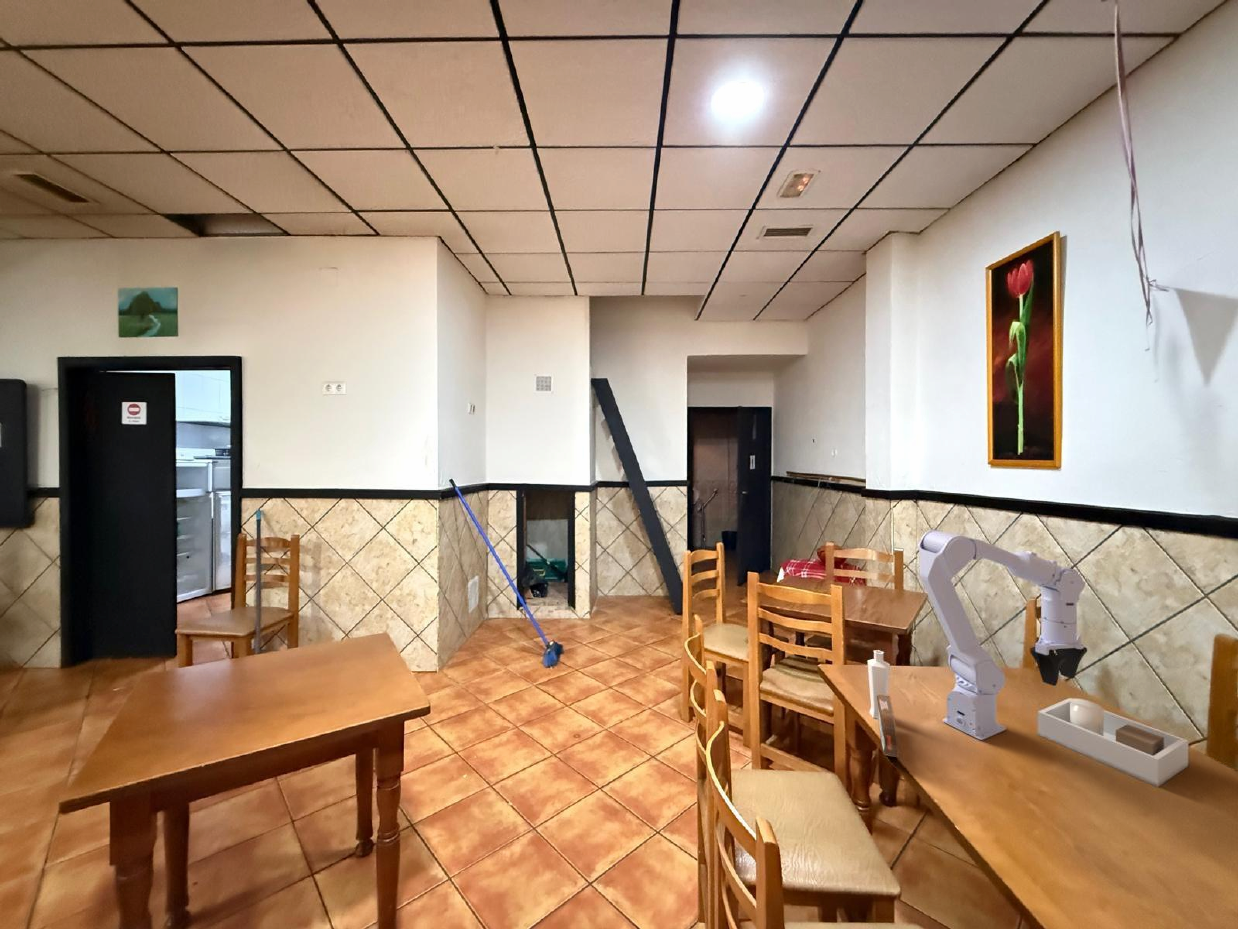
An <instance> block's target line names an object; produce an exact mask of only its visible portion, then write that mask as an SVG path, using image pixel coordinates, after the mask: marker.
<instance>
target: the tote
mask: <svg viewBox="0 0 1238 929" xmlns="http://www.w3.org/2000/svg"><path fill="white" fill-rule="evenodd" d="M1071 699H1073V698H1072V697H1068V698H1067V699H1064V700H1062V701H1059V702H1057V703H1055V704H1053V705H1050V706H1047V707H1046V708H1043V709H1041V710H1038V711H1037V735H1038V736H1040V737H1042V738H1044V739H1047V740H1050V741H1052V742H1054V743H1056V744H1058V745H1061V746H1063V747H1065V748H1068V749H1070V750H1073V751H1075V752H1077V753H1079V754H1080V755H1081V754H1082V755H1083V756H1085V757H1088V758H1090V759H1093V760H1095V761H1098V762H1099V763H1102V764H1104V765H1106V766H1108V767H1111V768H1113V769H1116V770H1118V771H1120V772H1123V773H1124V774H1127V775H1129V776H1130V777H1131V776H1132V777H1134V778H1136V779H1138V780H1140V781H1143V782H1145V783H1148V784H1150V785H1152V786H1154V787H1157V788H1159V787H1160V786H1161V785H1163V784H1165V783H1166V782H1167V781H1168V780H1170V779H1171V778H1173V777H1174V776H1176V775H1177V774H1179V773H1180V772H1181V771H1183V770H1184V769H1186V768H1188V766H1189V740H1188V739H1186V738H1182V737H1179V736H1177V735H1174V734H1171V733H1168V732H1167V731H1164V730H1160V729H1157V728H1156V727H1152V726H1149V725H1148V724H1143V723H1141V722H1139V721H1136V720H1132V719H1130V718H1127V717H1124V716H1121V715H1119V714H1116V713H1113V712H1111V711H1108V710H1105V709H1104V736H1102V735H1099V734H1097V733H1094V732H1092V731H1089V730H1087V729H1084V728H1082V727H1079V726H1077V725H1074V724H1072V723H1070V700H1071ZM1127 724H1128V725H1131V726H1134V727H1136V728H1139V729H1142V730H1145V731H1147V732H1150V733H1153V734H1155V735H1158V736H1161V737H1163V738H1164V750H1162V751H1160V752H1159V753H1157V754H1156V755H1154V756H1152V755H1149V754H1147V753H1144V752H1142V751H1139V750H1137V749H1134V748H1132V747H1129V746H1127V745H1124V744H1122V743H1119V742H1117V741H1116V730H1117V729H1119V728H1121V727H1123V726H1125V725H1127Z"/></svg>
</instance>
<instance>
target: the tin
mask: <svg viewBox="0 0 1238 929" xmlns="http://www.w3.org/2000/svg"><path fill="white" fill-rule="evenodd" d="M877 702H878V709H879V712H878V719H877V720H878V726H879V728H878V729H879V734H880V735H879V736H880V742H881V749H882V752H883V755H884V756H888V757H891V758H893V757H894V758H897V759H899V758H900V757H899V743H898V732H897V725H896V720H895V714H894V708H893V703H892V700H891V696H890V695H888V696H884V695H877Z"/></svg>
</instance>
